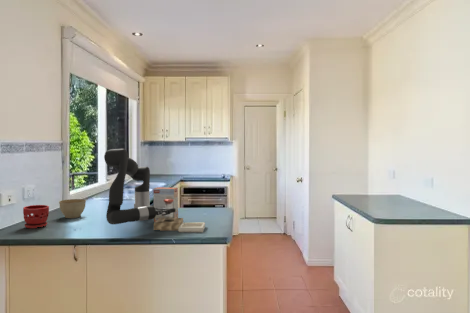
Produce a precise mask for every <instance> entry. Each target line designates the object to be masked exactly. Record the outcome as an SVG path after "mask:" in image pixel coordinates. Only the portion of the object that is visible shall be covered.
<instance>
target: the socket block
mask: <svg viewBox="0 0 470 313" xmlns="http://www.w3.org/2000/svg"><path fill="white" fill-rule="evenodd" d="M182 223H184V217H178V218H173V222H165V218H159V219H158V220H157V221H156V222H154V223H153V231H154V230H160V231H179V227H180V225H181V224H182Z"/></svg>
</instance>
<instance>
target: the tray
mask: <svg viewBox="0 0 470 313" xmlns="http://www.w3.org/2000/svg"><path fill="white" fill-rule="evenodd" d="M205 228H206V221H205V222H202V221H201V222H197V221H196V222H183V223H182V224H181V225H180V227H179V230H178V233H204V230H205Z"/></svg>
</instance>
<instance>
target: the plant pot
mask: <svg viewBox="0 0 470 313" xmlns="http://www.w3.org/2000/svg"><path fill="white" fill-rule="evenodd" d="M22 213H23V219H24V222H25V223H24V227H25V228H27V229H38V228H37V227H41V228H44V227H46V226H47V225H48V222H47V221H48V218H49V214H50V206H49V205H48V204H47V205H46V204H35V205H34V204H33V205H27V206H26V205H25V206H24V207H23V209H22ZM43 226H44V227H43Z"/></svg>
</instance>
